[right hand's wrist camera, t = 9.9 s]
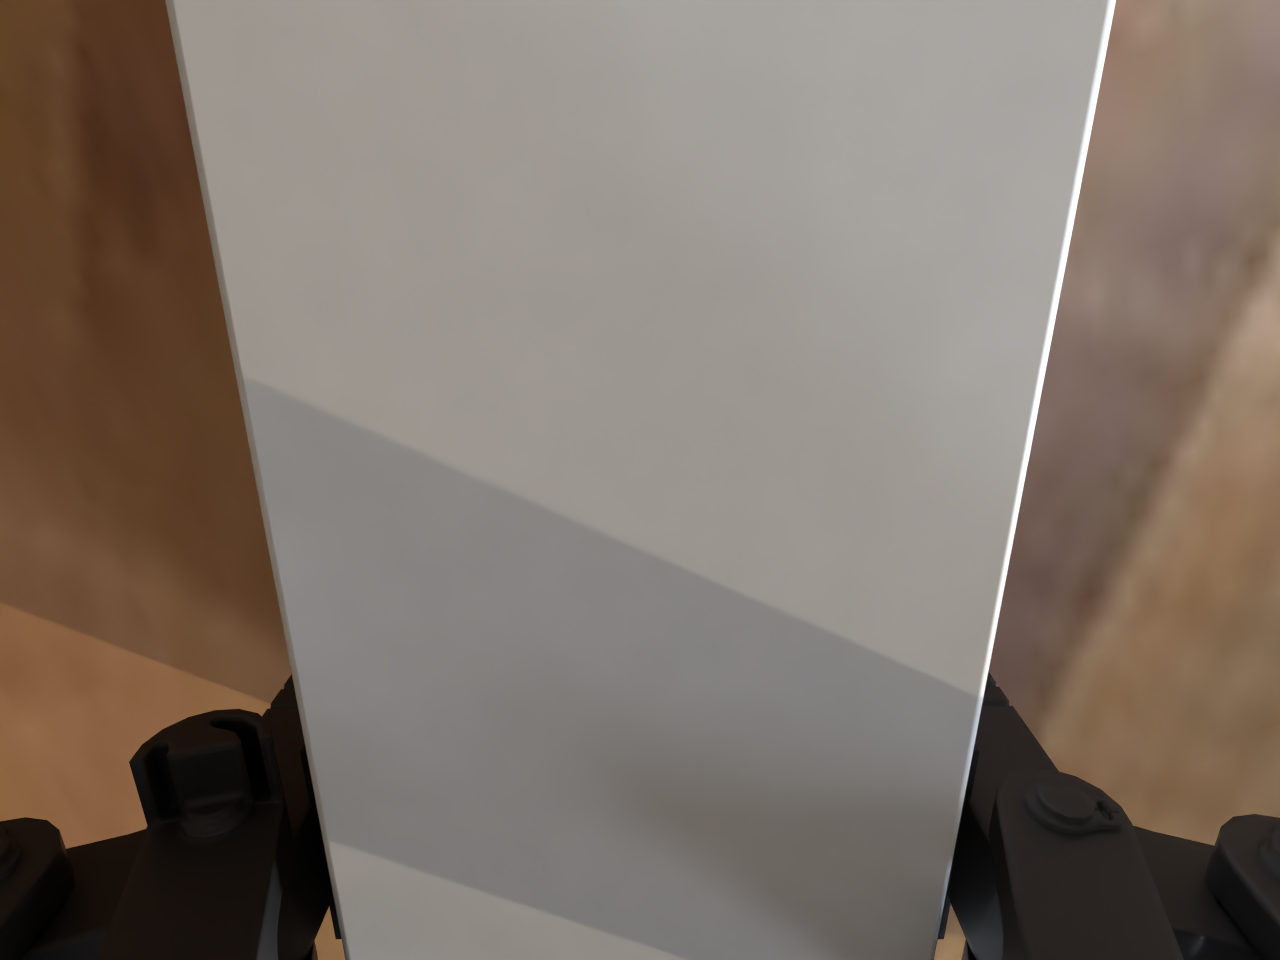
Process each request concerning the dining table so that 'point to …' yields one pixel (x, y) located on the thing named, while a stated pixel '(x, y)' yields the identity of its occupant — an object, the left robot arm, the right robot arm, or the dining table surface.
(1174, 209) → the dining table surface
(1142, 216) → the dining table surface
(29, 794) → the dining table surface
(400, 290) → the bar
